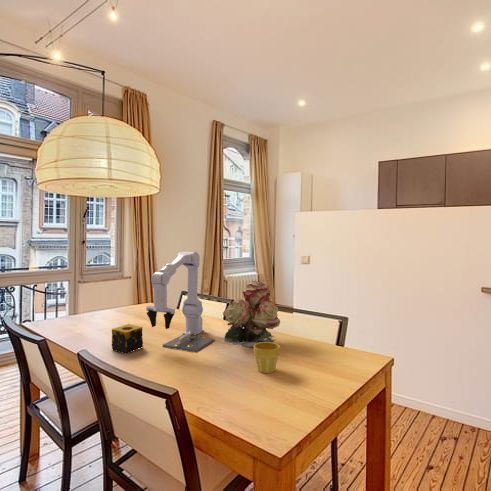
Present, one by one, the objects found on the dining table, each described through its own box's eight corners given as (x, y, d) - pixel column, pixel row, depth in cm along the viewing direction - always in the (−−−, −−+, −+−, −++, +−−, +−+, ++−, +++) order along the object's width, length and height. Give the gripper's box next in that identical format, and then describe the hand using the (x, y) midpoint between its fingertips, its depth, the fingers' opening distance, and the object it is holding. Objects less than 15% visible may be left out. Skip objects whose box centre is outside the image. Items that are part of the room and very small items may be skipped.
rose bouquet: (217, 344, 171) (217, 282, 170) (245, 329, 197) (246, 275, 195) (265, 353, 159) (266, 287, 158) (289, 336, 185) (289, 279, 183)
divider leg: (189, 335, 179) (189, 330, 179) (195, 336, 178) (195, 330, 178) (176, 344, 166) (176, 338, 166) (182, 345, 165) (182, 339, 165)
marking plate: (183, 336, 184) (183, 332, 183) (214, 340, 177) (214, 336, 176) (162, 346, 167) (162, 342, 167) (195, 352, 160) (195, 347, 160)
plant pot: (263, 363, 148) (263, 339, 147) (284, 369, 141) (284, 345, 141) (248, 370, 140) (248, 346, 139) (269, 377, 133) (269, 352, 133)
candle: (128, 344, 171) (128, 323, 170) (143, 347, 166) (143, 326, 165) (111, 350, 162) (110, 328, 162) (126, 354, 157) (126, 332, 156)
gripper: (141, 298, 162) (142, 327, 163) (168, 301, 156) (168, 331, 157) (151, 295, 168) (151, 324, 169) (177, 298, 163) (177, 327, 163)
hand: (160, 327), depth 163 cm, fingers open, 7 cm apart
